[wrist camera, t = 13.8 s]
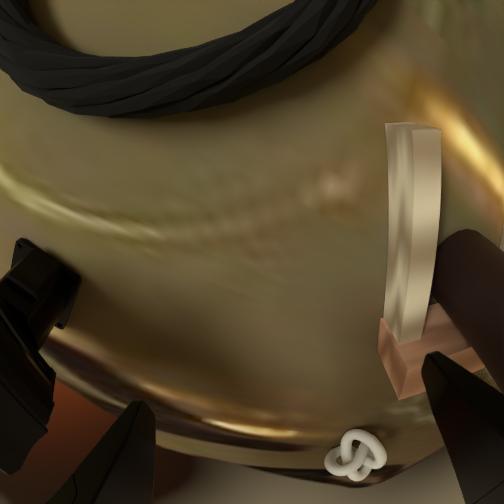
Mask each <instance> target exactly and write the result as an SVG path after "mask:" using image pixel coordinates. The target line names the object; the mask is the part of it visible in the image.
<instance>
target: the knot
mask: <svg viewBox="0 0 504 504" xmlns="http://www.w3.org/2000/svg"><path fill="white" fill-rule="evenodd" d="M353 440H359V441H361V443H360V445H359V448H355V447H352V441H353ZM339 456H341V457H342V462H343V465H338V464H337V463H336V458H337V457H339ZM386 460H387V455H386V451H385V449H384V447H383V445H382V444H381V443H380V441H379V440H378V439H377V438H376V437H375V436H374V435H373V434H370V433H369V432H367V431H364V430H361V429H352V430H349V431H347V432H346V433H345V434H344V436H343V437H342V440H341V446H338V447H335V448H333V449H332V450H330V451H329V452H328V454H327V455H326V457H325V467H326V469H327V470H328V471H329V472H330V473H332V474H334V475H337V476H345V475H347V476H348V477H349V478H350V479H351V480H353V481H360V480H363V479H364V478H365V477H366V476H367V475H368V474H369V473H370V471H371V469H372V468H373V469H378V468H381V467H382V466H384V464H385V463H386ZM362 464H363V465H362ZM361 465H362V467H361V469H360V470H359V471H357V469H359V468H360V466H361Z"/></svg>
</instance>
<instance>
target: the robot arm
mask: <svg viewBox="0 0 504 504" xmlns="http://www.w3.org/2000/svg"><path fill="white" fill-rule="evenodd" d="M20 243H21V244H22V245H21V244H20ZM73 279H74V280H76V282H75V281H74V280H73ZM80 284H81V278H80V276H78V275H77V274H76V273H74V272H73V271H71V270H69V269H68V268H66V267H65V266H63V265H62V264H60V263H59V262H57V261H56V260H54V259H53V258H51V257H50V256H48V255H47V254H45V253H44V252H42V251H41V250H39V249H38V248H36V247H35V246H33V245H32V244H31V243H29V242H28V241H26V240H25V239H23V238H19V239H18V240H17V241H16V243H15V248H14V253H13V259H12V264H11V269H10V270H9V271H8V272H7V273H6V274H5V275H4V276H3V277H2V278H1V279H0V470H1V471H3V472H4V473H6V474H7V475H12V474H13V473H15V472H16V471H18V470H20V469H21V467H22V465H23V463H24V461H25V459H26V457H27V455H28V453H29V451H30V450H31V448H32V447H33V446H34V444H35V443H36V442H37V441H38V440H39V439H40V438H41V437H43V436H44V435H45V434H46V433H47V432H48V430H47V428H46V427H45V426H46V425H47V423H48V421H49V419H50V416H51V414H52V411H53V408H54V401H53V392H54V384H55V378H56V372H55V371H54V370H53V369H52V367H50V366H49V365H48V364H47V363H46V361H45V360H44V359H43V357H42V356H41V355H40V353H39V350H40V349H41V347H42V345H43V344H44V342H45V340H46V339H47V337H48V335H49V334H50V332H51V331H52V329H53V327H54V326H55V327H57V328H59V329H64V328H65V326H66V323H67V320H68V317H69V314H70V311H71V309H72V306H73V303H74V300H75V297H76V295H77V292H78V289H79V287H80ZM421 376H422V379H423V382H424V386H425V389H426V392H427V396H428V399H429V402H430V406H431V409H432V413H433V415H434V418H435V421H436V423H437V425H438V428H439V430H440V433H441V436H442V438H443V441H444V443H445V446H446V448H447V451H448V454H449V456H450V459H451V462H452V465H453V468H454V470H455V473H456V476H457V479H458V482H459V485H460V488H461V491H462V494H463V497H464V501H465V504H504V394H502V393H501V392H500V391H498V390H497V389H495V388H494V387H492V386H491V385H489V384H488V383H486V382H485V381H483V380H482V379H480V378H479V377H477V376H476V375H474V374H473V373H471V372H470V371H468V370H467V369H465V368H464V367H462V366H461V365H459V364H458V363H456V362H455V361H453V360H452V359H450V358H449V357H447V356H446V355H444V354H443V353H441V352H440V351H433V352H430V353H427V354H426V355H425V358H424V362H423V365H422V368H421ZM155 460H156V418H155V414H154V413H153V411H152V410H151V408H150V407H149V405H148V404H147V402H146V401H144V400H133V401H132V402H131V403H130V404H129V405H128V406H127V408H126V409H125V410H124V411H123V412H122V414H121V415H120V416H119V417H118V419H117V420H116V421H115V422H114V424H113V425H112V426H111V427H110V428H109V430H108V431H107V432H106V433H105V435H104V436H103V437H102V438H101V440H100V441H99V442H98V443H97V444H96V446H95V447H94V448H93V449H92V450H91V452H90V453H89V454H88V455H87V457H86V458H85V459H84V460H83V461H82V463H81V464H80V465H79V466H78V468H77V469H76V470H75V471H74V474H72V475H71V476H70V477H69V479H68V480H67V481H66V482H65V483H64V484H63V486H62V487H61V488H60V489H59V490H58V491H57V492H56V493H55V494H54V495H53V496H52V497H51V498H50V499H49V500H48V501H47V502H46V503H45V504H152V494H153V483H154V482H153V481H154V471H155V462H156V461H155Z"/></svg>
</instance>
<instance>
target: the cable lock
mask: <svg viewBox="0 0 504 504" xmlns="http://www.w3.org/2000/svg"><path fill="white" fill-rule="evenodd" d="M376 2H377V0H295V1H294V2H293V3H291V4H289V5H287V6H285V7H283V8H281V9H279V10H277V11H275V12H273V13H271V14H270V15H268V16H266V17H264V18H262V19H261V20H259V21H257V22H255V23H254V24H252V25H250V26H248V27H247V28H245V29H243V30H242V31H240V32H237V33H233V34H230V35H227V36H224V37H221V38H218V39H215V40H212V41H209V42H207V43H204V44H201V45H198V46H195V47H189V48H184V49H179V50H174V51H169V52H165V53H160V54H156V55H152V56H142V57H101V56H95V55H88V54H84V53H80V52H76V51H73V50H71V49H68V48H65V47H63V46H61V45H60V44H59V43H58V42H56V41H55V40H54V39H53V38H51V37H50V36H49V35H47V34H46V33H45V32H44V31H42V30H41V29H40V28H39V27H38V25H37V23H36V21H35V19H34V17H33V15H32V12H31V10H30V8H29V6H28V0H0V68H1V70H2V71H4V72H5V73H7V74H8V75H9V76H10V77H11V79H12V80H13V81H14V82H15V83H16V84H17V85H18V87H19V88H20V89H21V90H22V91H24V92H26V93H29V94H31V95H34V96H36V97H38V98H41V99H43V100H44V101H45V102H46V103H47V104H49V105H52V106H55V107H57V108H60V109H63V110H66V111H68V112H71V113H74V114H80V115H95V116H106V117H110V118H154V117H158V116H164V115H169V114H174V113H180V112H189V111H195V110H199V109H203V108H207V107H211V106H215V105H220V104H224V103H229V102H234V101H236V100H238V99H240V98H242V97H244V96H247V95H249V94H251V93H253V92H256V91H258V90H260V89H263V88H265V87H267V86H270V85H272V84H275V83H277V82H280V81H282V80H283V79H285V78H286V77H288V76H290V75H292V74H293V73H295V72H297V71H299V70H300V69H302V68H304V67H306V66H308V65H309V64H311V63H313V62H315V61H317V60H319V59H321V58H322V57H323V56H325V55H326V54H327V53H328V52H329V51H331V50H332V49H333V48H334V47H335V46H337V45H338V44H339V43H340V42H342V41H343V40H344V39H345V38H346V37H348V36H349V35H350V34H351V33H353V32H354V31H355V30H356V29H357V28H358V26H359V24H360V23H361V21H362V19H363V18H364V16H365V15H366V14H367V13H368V12H369V11H370V9H371V8H372V7H373V6H374V5H375V4H376Z"/></svg>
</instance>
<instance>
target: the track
mask: <svg viewBox="0 0 504 504" xmlns="http://www.w3.org/2000/svg"><path fill="white" fill-rule="evenodd" d="M385 129H386V142H387V158H388V183H389V238H388V263H387V280H386V293H385V305H384V315H383V318H381V319H380V328H379V337H378V345H377V352H378V354H379V356H380V359H381V361H382V363H383V365H384V367H385V370H386V372H387V374H388V376H389V379H390V381H391V383H392V385H393V388H394V390H395V392H396V395H397V397H398V399H399V400H401V399H405V398H408V397H411V396H414V395H417V394H420V393H422V392H425V391H426V389H425V386H424V382H423V379H422V376H421V368H422V365H423V362H424V358H425V355H426V354H427V353H430V352H433V351H440V352H441V353H443V354H444V355H446V356H447V357H449V358H450V359H452V360H453V361H455V362H456V363H458V364H459V365H461V366H462V367H464V368H465V369H467V370H468V371H470V372H471V373H473V372H476V371H478V370H480V369H482V368H484V367H485V365H484V364H483V362H482V361H481V359H480V358H479V357H478V355H477V354H476V352H475V351H474V349H473V348H472V347H471V345H470V344H469V342H468V341H467V340H466V338H465V337H464V336H463V334H462V333H461V331H460V330H459V329H458V327H457V326H456V325H455V323H454V322H453V321H452V319H451V318H450V317H449V316H448V314H447V313H446V312H445V310H444V309H443V308H442V307H441V305H440V304H439V303H436V304H432V305H429V306H428V302H429V297H430V291H431V285H432V278H433V272H434V265H435V257H436V248H437V239H438V229H439V216H440V199H441V129H438V128H434V127H430V126H425V125H421V124H417V123H412V122H405V123H385ZM499 248H500V249H501V250H502V251H503V252H504V225H503V231H502V237H501V242H500V247H499Z"/></svg>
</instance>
